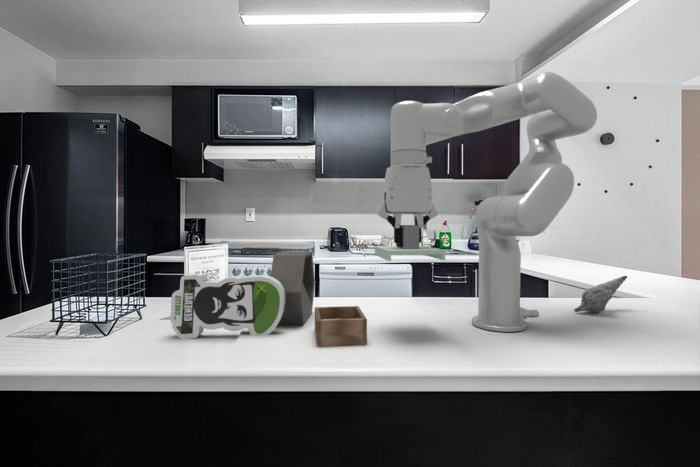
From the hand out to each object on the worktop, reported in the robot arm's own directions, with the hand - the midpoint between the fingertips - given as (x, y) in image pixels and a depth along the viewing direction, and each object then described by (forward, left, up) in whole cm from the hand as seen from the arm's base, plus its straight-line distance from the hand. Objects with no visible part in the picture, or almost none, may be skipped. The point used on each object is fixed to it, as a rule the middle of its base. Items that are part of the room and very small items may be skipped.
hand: (407, 245), depth 84 cm
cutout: (+39, -6, -21) cm, 45 cm away
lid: (0, 0, -3) cm, 3 cm away
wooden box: (+15, 0, -20) cm, 25 cm away
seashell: (-60, -15, -21) cm, 65 cm away
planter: (+25, -17, -21) cm, 37 cm away
